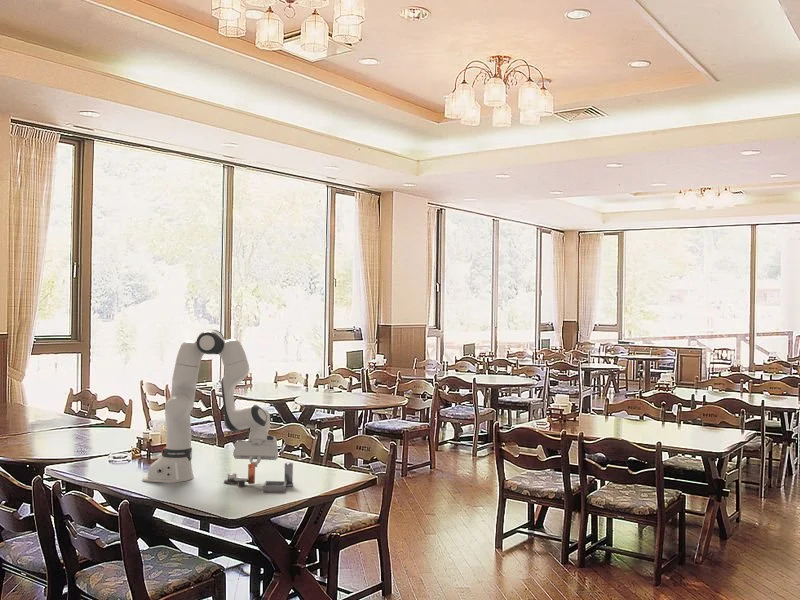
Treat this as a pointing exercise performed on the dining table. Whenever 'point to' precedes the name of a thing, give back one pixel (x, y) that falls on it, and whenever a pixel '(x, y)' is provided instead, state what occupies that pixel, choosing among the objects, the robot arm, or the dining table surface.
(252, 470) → the crank
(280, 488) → the tray
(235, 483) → the crank base
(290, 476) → the pin
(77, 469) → the dining table surface
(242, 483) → the stop block
